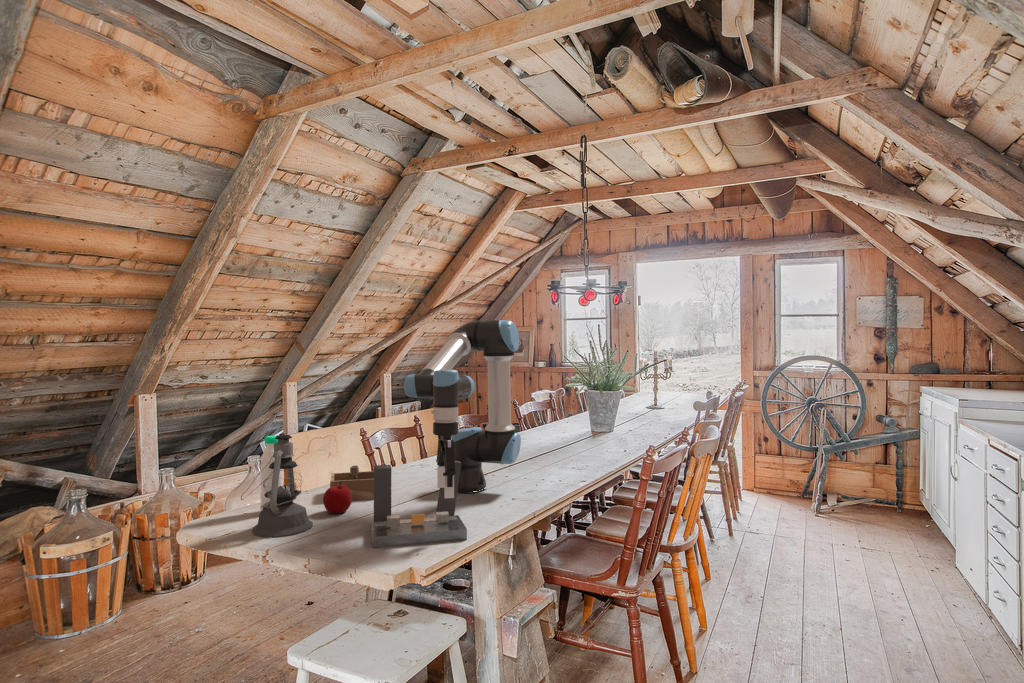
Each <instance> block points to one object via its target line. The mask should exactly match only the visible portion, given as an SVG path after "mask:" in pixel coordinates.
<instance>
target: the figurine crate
mask: <svg viewBox="0 0 1024 683" xmlns="http://www.w3.org/2000/svg"><path fill="white" fill-rule="evenodd" d="M350 474H351V472H350V471H348V472H334V473H333V472H332V473H331V475H330V481H329V488H330V487H333V486H338V485H340V482H342V483H341V485H342V486H346V487H348V488H349V490H350V492H351V495H352V501H361V500H363V501H364V500H374V470H369V471H359V474H358V475H357V479H358V480H350V478H351V475H350Z"/></svg>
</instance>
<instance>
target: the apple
mask: <svg viewBox="0 0 1024 683" xmlns="http://www.w3.org/2000/svg"><path fill="white" fill-rule="evenodd" d="M341 483H342V482H340V485H338V486H333V487H330V486H329V488H327V489H326V491H325V492H324V494H323V497H322V500H323V505H324V508H325V510H326V511H327V512H328V513H330V514H333V515H337V514H341V513H342V514H343V513H345V512H346V511H347V510H348V509H349V508H350V507H351V504H352V501H353V500H352V495H351V492H350V490H349V488H348V487H346V486H342V485H341Z"/></svg>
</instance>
